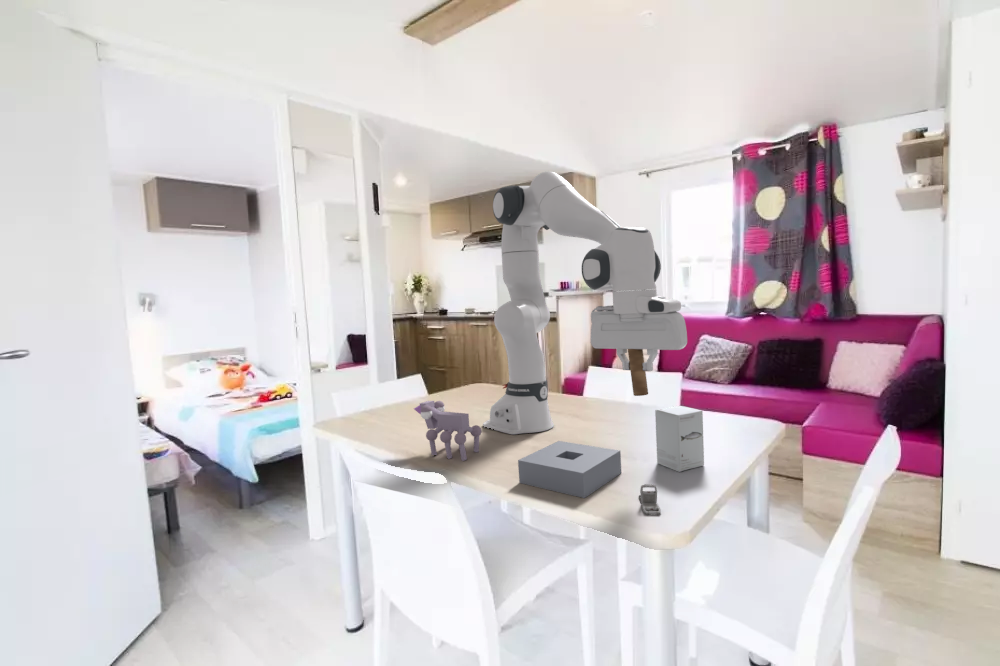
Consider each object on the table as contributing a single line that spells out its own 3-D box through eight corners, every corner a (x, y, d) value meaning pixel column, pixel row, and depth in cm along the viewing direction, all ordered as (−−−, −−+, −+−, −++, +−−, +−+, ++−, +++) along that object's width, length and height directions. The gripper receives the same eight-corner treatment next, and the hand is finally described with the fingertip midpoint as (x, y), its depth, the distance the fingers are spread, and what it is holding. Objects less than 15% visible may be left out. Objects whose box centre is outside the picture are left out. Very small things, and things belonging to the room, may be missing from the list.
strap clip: (661, 517, 89) (661, 493, 88) (644, 517, 89) (643, 493, 89) (654, 497, 97) (653, 476, 97) (637, 497, 97) (637, 476, 97)
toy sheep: (402, 453, 135) (400, 403, 134) (428, 444, 144) (426, 397, 143) (461, 463, 124) (459, 408, 123) (486, 452, 133) (484, 401, 132)
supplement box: (679, 473, 108) (677, 415, 107) (656, 463, 115) (653, 409, 114) (705, 466, 111) (703, 410, 110) (681, 457, 118) (679, 404, 117)
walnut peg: (631, 395, 105) (625, 348, 105) (637, 393, 107) (631, 347, 107) (644, 395, 103) (638, 347, 103) (650, 393, 106) (644, 345, 105)
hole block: (519, 482, 108) (517, 460, 108) (559, 461, 120) (558, 440, 120) (584, 498, 98) (582, 473, 98) (621, 472, 110) (620, 450, 110)
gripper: (583, 307, 109) (586, 370, 110) (677, 303, 96) (679, 375, 97) (597, 305, 113) (600, 366, 114) (688, 301, 100) (691, 370, 101)
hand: (637, 370), depth 105 cm, fingers closed on walnut peg, 3 cm apart
